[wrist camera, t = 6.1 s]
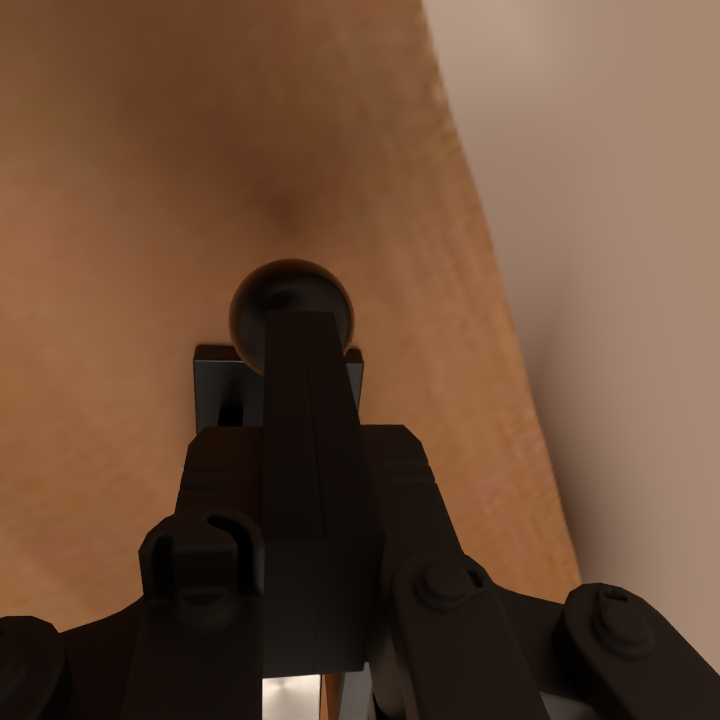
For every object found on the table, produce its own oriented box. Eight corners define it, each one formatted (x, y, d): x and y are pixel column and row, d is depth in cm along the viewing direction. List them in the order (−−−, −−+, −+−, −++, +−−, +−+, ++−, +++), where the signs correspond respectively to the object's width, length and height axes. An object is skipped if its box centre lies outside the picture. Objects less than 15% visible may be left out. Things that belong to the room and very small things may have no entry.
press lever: (232, 252, 15) (224, 258, 12) (348, 258, 16) (368, 266, 13) (229, 658, 18) (221, 746, 15) (327, 651, 19) (339, 735, 16)
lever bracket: (196, 345, 23) (129, 615, 12) (360, 349, 24) (435, 599, 13) (203, 505, 28) (158, 813, 16) (342, 502, 29) (388, 787, 18)
